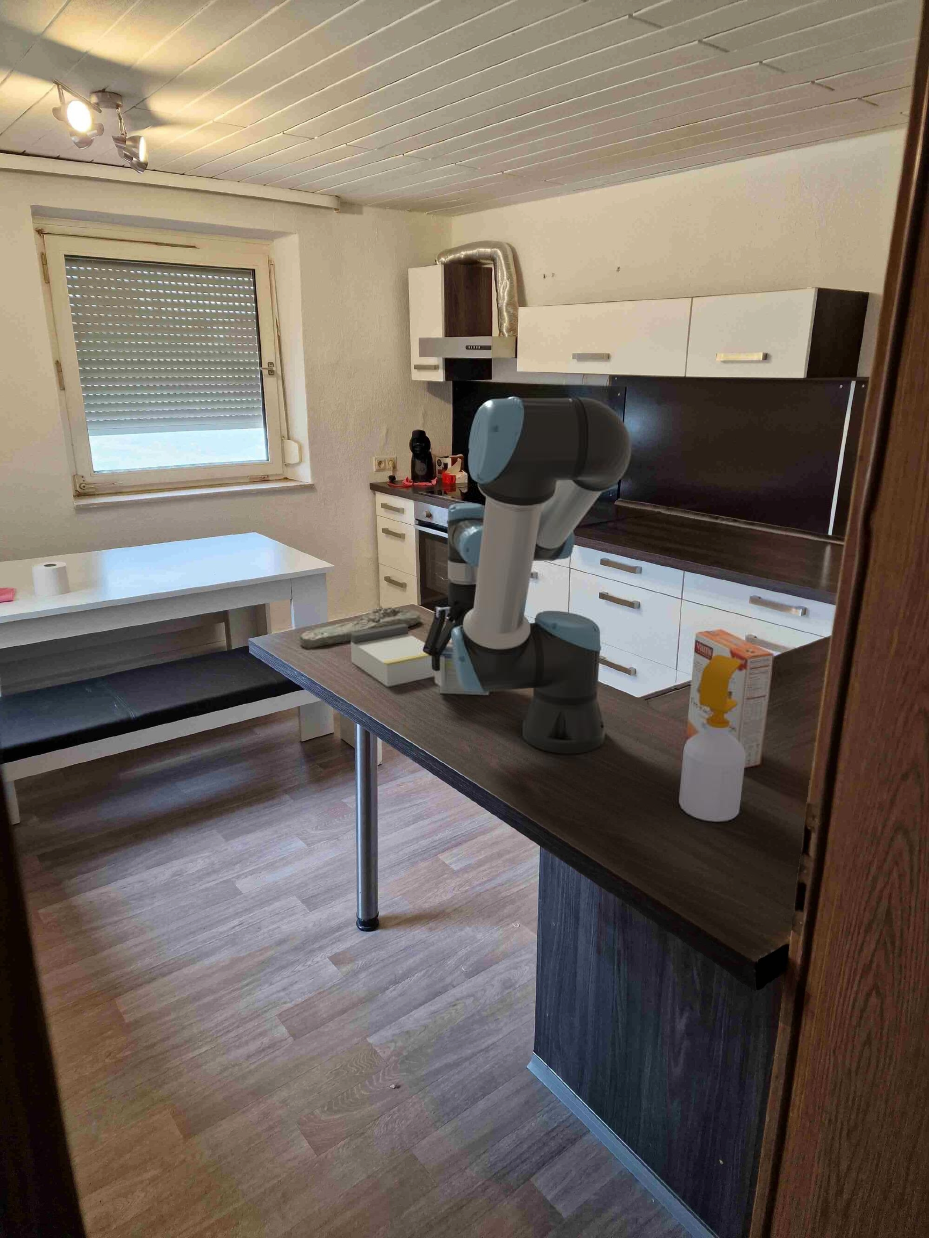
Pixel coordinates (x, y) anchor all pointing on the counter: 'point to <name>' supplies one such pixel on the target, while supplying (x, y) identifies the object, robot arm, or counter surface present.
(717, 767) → the soap bottle
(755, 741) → the cracker box
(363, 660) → the platform
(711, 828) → the counter surface
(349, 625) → the elongated rock
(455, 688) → the light bulb box
